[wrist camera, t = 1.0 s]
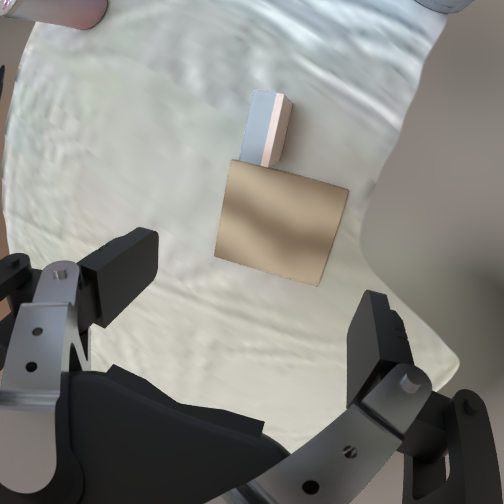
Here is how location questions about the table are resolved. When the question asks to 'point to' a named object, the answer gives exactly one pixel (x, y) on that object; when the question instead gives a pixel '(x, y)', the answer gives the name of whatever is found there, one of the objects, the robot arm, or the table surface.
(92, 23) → the beverage can
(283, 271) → the tan wavy tile
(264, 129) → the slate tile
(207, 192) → the table surface
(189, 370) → the table surface
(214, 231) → the table surface
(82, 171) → the table surface
